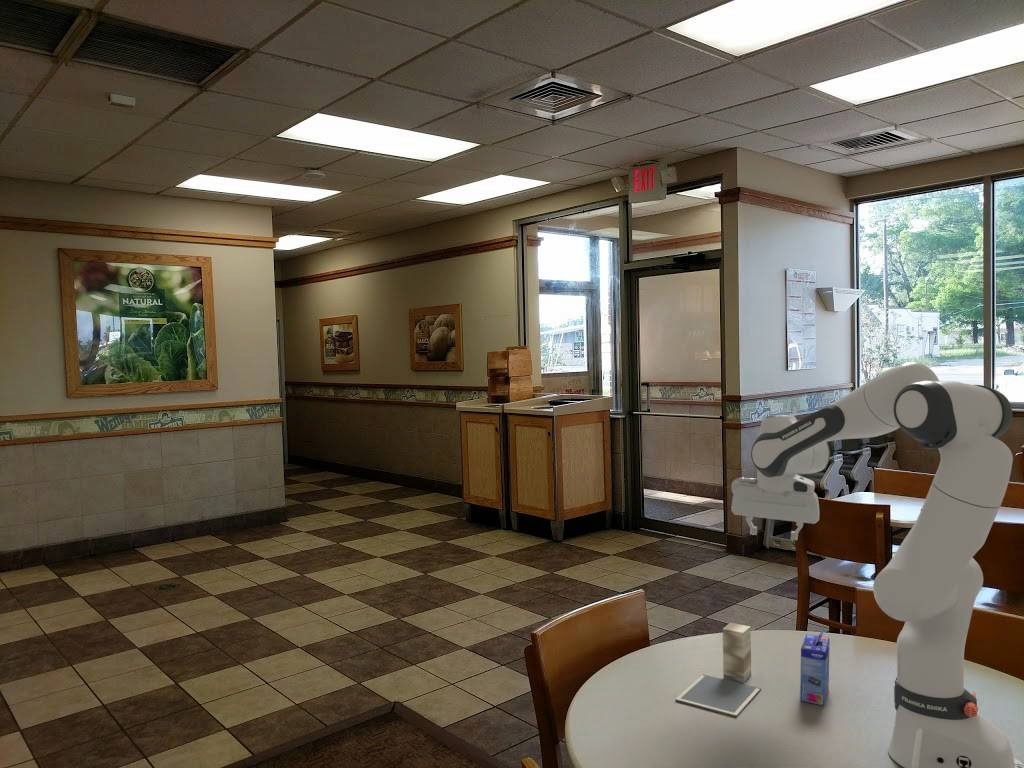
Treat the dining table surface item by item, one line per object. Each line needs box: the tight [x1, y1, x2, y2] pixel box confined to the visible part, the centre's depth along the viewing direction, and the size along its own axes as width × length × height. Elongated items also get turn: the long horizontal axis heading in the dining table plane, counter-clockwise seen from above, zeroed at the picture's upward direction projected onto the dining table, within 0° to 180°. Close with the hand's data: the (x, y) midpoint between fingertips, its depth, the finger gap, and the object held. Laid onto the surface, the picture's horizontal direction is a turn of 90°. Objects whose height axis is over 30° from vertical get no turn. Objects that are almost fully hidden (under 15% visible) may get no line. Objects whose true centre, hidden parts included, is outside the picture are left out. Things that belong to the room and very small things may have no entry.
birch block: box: [722, 622, 752, 684], centre depth 180 cm, size 5×5×12 cm
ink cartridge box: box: [799, 630, 831, 706], centre depth 169 cm, size 10×6×14 cm, turn 152°
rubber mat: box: [674, 674, 762, 718], centre depth 170 cm, size 14×16×1 cm
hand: (773, 536), depth 182 cm, fingers open, 8 cm apart
